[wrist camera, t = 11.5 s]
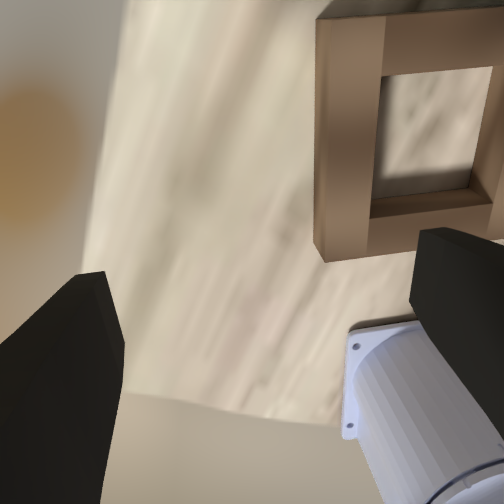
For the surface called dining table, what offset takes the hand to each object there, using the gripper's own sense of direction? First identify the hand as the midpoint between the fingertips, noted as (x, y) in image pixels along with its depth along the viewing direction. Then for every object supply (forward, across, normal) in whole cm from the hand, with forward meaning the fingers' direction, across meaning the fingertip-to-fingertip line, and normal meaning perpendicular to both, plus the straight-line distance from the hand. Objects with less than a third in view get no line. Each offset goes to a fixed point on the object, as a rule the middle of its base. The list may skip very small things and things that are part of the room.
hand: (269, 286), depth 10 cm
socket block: (+10, -9, 0) cm, 14 cm away
